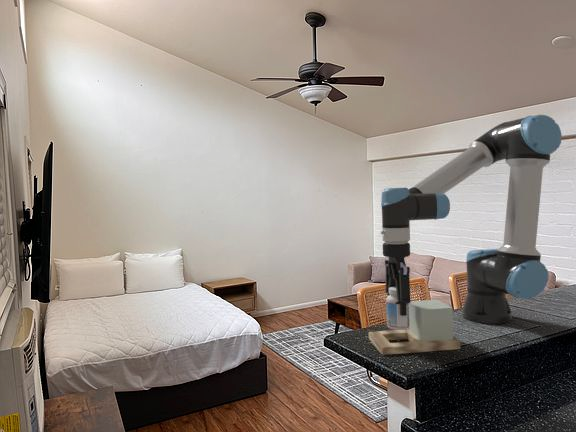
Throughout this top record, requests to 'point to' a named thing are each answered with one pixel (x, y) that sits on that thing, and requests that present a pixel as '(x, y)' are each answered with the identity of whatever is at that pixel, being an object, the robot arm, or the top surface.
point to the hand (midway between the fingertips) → (398, 322)
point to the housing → (431, 320)
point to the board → (412, 346)
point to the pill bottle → (394, 310)
